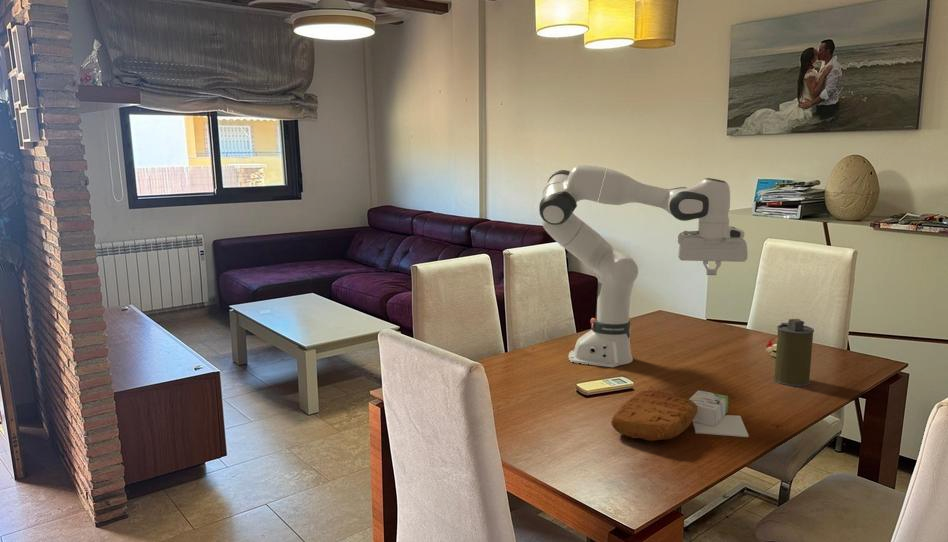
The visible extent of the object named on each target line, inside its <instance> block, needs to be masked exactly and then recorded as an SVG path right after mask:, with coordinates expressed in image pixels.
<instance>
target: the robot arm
mask: <svg viewBox="0 0 948 542" xmlns="http://www.w3.org/2000/svg"><path fill="white" fill-rule="evenodd" d="M583 200H586V201H591V202H596V203H600V204H604V205H610V206H612V205H613V206H621V205H626V204H631V203H636V204H643V205H647V206H650V207H651V206H652V207H656V208H660V209H663V210H665V211H667V213H669V214H670V215H671V216H673V217H674V219H677V220H678V221H681V222H682V221H684V222H688V221H691V220H697V219H698V227H697V228H698V230H693V231H692V230H690V231H689V230H683V232H680V233H679V234H678V236H677V242H678V244H679V246H678V253H677V256H678V257H677V258H678V259H679V260H680V261H685V262H687V261H688V262H690V261H691V262H694V261H695V262H702V264H703V266H704V268H705V275H706V276H717V274H718V273H717V272H718V269H719V268H720V267H721V265H722V262H733V263H734V262H736V263H737V262H738V263H739V262H746V261H747V260H748V257H749V256H748V253H749V252H748V244H747V241H746V240H745V239H744V238H745V232H744V230H742V229H740V228H737V227H735V226H731V225H730V219H729V212H730V208H731V190H730V185H729V183H728V182H726V181H725V180H722V179H716V178H711V177H707V178H703V179H702V180H700V181H699V182H698V183H695V184H694V185H691V186H688V187H685V186H680V187H675V188H665V187H664V188H663V187H659V186H654V185H651V184H650V185H649V184H646V183H643V182H640V181H638V180H636V179H634V178H633V177H631V176H629V175H627V174H624V173H623V172H620V171H617V170H616V169H615V170H614V169H611V168H606V167H602V166H598V165H597V166H596V165H586V164H584V165H583V164H582V165H581V164H579V165H575V166H574V167H573V168H572V169H571V170H570V171H569V170H566V169H560V170H557V171H555V172H554V173H553V174H552V175H551V176H550V177H549V179H548V180H547V183H546V185H545V187H544V189H543V191H542V197H541V199H540V203H539V208H538V211H539V216H540V217H541V219H542V227H543V229H544V230H545V232H546V233H547V235H549V236H550V237H551V238H552V239H553V240H554V241H555V242H556V243H557V244H558V245H560V246H561V247H562V248H563V249H565V250H566V251H567V252H569V253H570V254H571V255H572V256H574V257H575V258H577V260H579V261H580V262H582V263H583V264H584V266H586V267H587V268H589V269H590V270H591V271H592V272H594V273H595V274H596V275H597V276H598V277H600V278H601V279H602V281H601V288H600V292H599V295H598V296H597V300H596V301H597V302H596V303H597V304H596V305H597V307H596V308H597V309H596V318H595V317H591V319H590V321H589V322H590V326H591V327H590V330H589V331H587V332H586V333H584V334H582V335H581V336H579V338H577V341H576V343H575V346H574V349H573V350H571V351H569V352H568V358H569V359H568V358H567V359H568V361H569V360H570V361H569V362H571V363H572V362H574V363H573V364H579V363H581V365H588V364H589V366H597V367H606V368H615V367H618V366H622V365H627V364H630V363H632V362H633V360H634V359H633V356H632V351H631V343H630V337H631V325H632V324H631V320H630V304H631V303H630V301H631V295H632V292H633V287H634V284H635V283H634V282H635V281H636V279H637V277H638V274H639V267H638V265H637V263H636V262H635V260H634V259H633V257H631V256H630V255H628V254H625V253H623V252H621V251H620V250H618V249H616V247H613V245H611V244H610V243H609V242H608V241H607V240H606V239H605V238H604V237H603V236H601V234H599V232H597V231H596V230H595V229H593V228H592V227H591V226H590V225H588V224H587V223H586V222H584V221H583V220H582V219H580V218H579V217H578V216H577V215H575V214H574V211H575V209H577V206H578V204H577V203H578V202H579V201H583ZM709 262H715V263H714V264H715V266H714V268H709V267H708V265H709Z"/></svg>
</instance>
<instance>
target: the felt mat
mask: <svg viewBox="0 0 948 542" xmlns="http://www.w3.org/2000/svg"><path fill="white" fill-rule="evenodd" d="M692 424H693V430H694V433H695V434H702V435H714V436H715V435H716V436H728V437H730V436H731V437H738V438H739V437H741V438H749V436H750V435H749V433H748V431H747V428H746V427H745V424H744V422H743V418H742V417H741V415H731V414H725V415H724V416H723V417H722V419H721V420H720V421H719V422H718V423H717V425H716V426H710V425H706V424H702V423H697V422H693V421H692Z"/></svg>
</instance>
